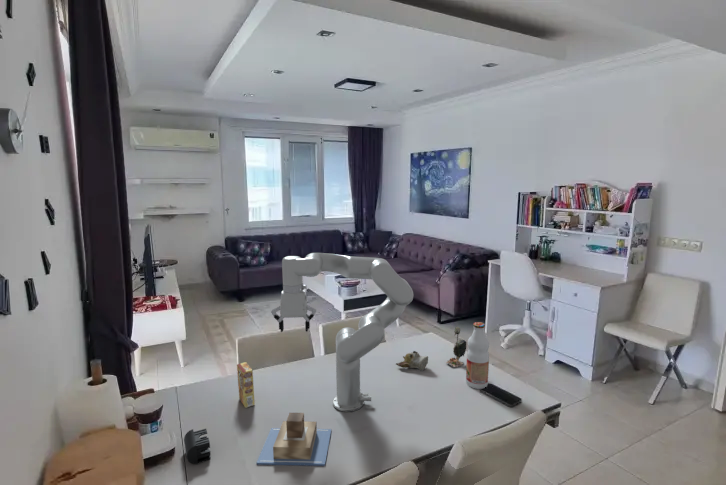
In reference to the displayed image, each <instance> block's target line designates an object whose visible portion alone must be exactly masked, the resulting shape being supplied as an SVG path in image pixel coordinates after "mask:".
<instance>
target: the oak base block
mask: <svg viewBox="0 0 726 485" xmlns="http://www.w3.org/2000/svg"><path fill="white" fill-rule="evenodd" d="M286 421H287V420H283V421H282V423H281V426H280V427H279V428H280V430H279V433H278V436H277V438H276V441H275V443H274V446H273V457H274V459H311V454H312V450H313V446H314V442H315V438H316V433H317V429H318V427H317V421H305V420H304V432H303V436H302V438H287V426H286Z"/></svg>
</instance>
